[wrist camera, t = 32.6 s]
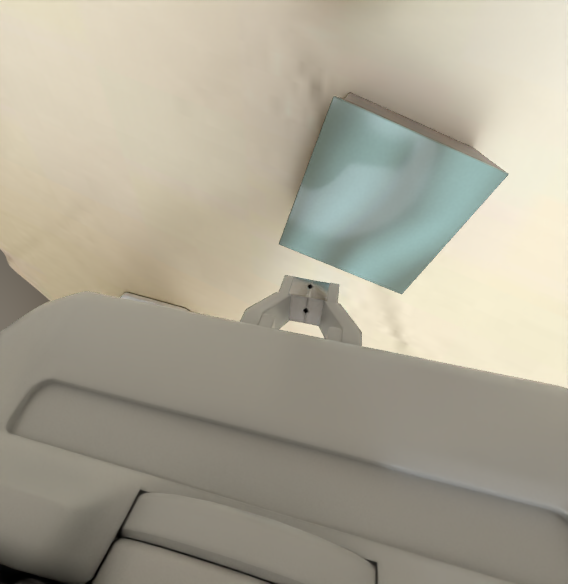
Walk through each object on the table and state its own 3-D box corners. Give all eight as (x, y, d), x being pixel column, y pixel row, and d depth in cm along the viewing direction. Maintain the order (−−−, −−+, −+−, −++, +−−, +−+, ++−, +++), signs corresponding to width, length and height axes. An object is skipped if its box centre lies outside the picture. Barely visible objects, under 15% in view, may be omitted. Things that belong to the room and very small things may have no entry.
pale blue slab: (279, 241, 30) (278, 244, 29) (334, 95, 21) (333, 95, 20) (401, 291, 31) (401, 294, 30) (506, 171, 21) (509, 174, 21)
